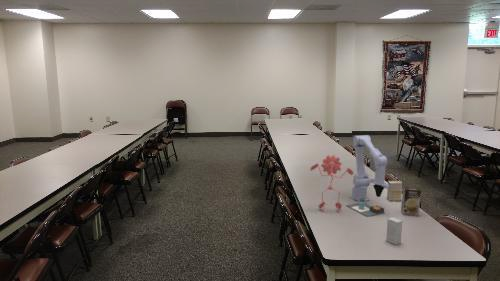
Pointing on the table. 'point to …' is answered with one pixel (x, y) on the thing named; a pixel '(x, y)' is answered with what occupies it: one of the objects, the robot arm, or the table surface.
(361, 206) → the teal bottle
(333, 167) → the figurine
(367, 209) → the slate board
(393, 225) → the skincare box
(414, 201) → the coffee box
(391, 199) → the supplement box
